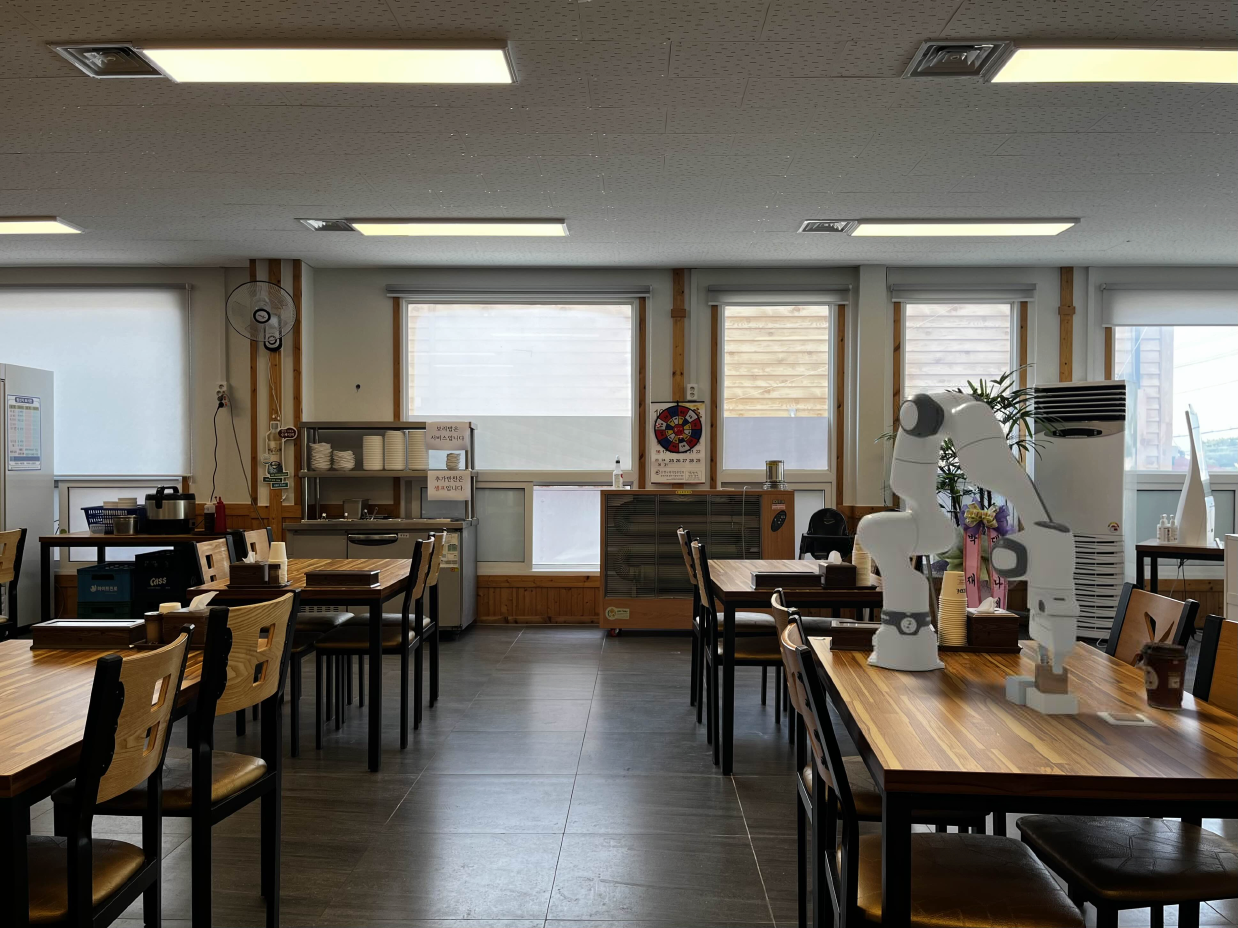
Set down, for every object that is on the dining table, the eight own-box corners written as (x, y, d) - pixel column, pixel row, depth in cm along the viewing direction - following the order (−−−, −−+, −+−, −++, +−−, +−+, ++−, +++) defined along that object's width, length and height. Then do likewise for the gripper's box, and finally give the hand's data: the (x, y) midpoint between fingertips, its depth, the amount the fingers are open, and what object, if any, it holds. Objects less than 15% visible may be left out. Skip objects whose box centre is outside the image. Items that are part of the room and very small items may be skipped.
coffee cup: (1144, 709, 187) (1143, 645, 187) (1136, 700, 195) (1136, 639, 195) (1193, 713, 184) (1192, 649, 184) (1183, 704, 192) (1182, 642, 192)
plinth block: (1026, 706, 189) (1026, 687, 189) (1058, 706, 190) (1058, 687, 190) (1044, 715, 182) (1044, 695, 182) (1077, 714, 183) (1077, 695, 183)
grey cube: (1006, 699, 195) (1005, 675, 195) (1028, 699, 196) (1028, 675, 196) (1018, 704, 190) (1018, 680, 190) (1041, 704, 191) (1041, 680, 191)
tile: (1096, 713, 183) (1096, 710, 183) (1140, 716, 181) (1140, 712, 181) (1110, 723, 175) (1110, 720, 175) (1155, 726, 173) (1155, 722, 173)
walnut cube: (1034, 687, 189) (1034, 663, 189) (1060, 688, 188) (1060, 664, 188) (1041, 693, 184) (1041, 668, 184) (1067, 694, 183) (1067, 669, 183)
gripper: (1021, 593, 198) (1021, 657, 198) (1048, 607, 178) (1047, 678, 177) (1053, 594, 197) (1052, 658, 196) (1082, 608, 176) (1082, 679, 176)
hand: (1050, 668), depth 187 cm, fingers open, 8 cm apart
